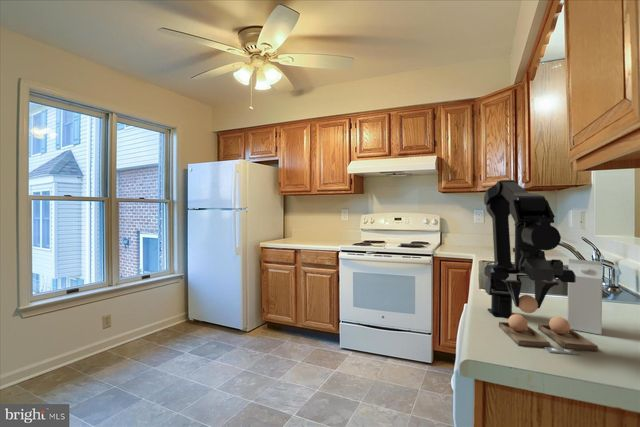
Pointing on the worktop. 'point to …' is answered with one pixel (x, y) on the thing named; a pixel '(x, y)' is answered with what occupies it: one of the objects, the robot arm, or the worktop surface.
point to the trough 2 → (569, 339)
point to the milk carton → (585, 296)
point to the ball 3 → (559, 325)
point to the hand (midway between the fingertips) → (527, 307)
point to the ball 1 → (517, 322)
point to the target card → (561, 350)
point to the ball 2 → (528, 304)
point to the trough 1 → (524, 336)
